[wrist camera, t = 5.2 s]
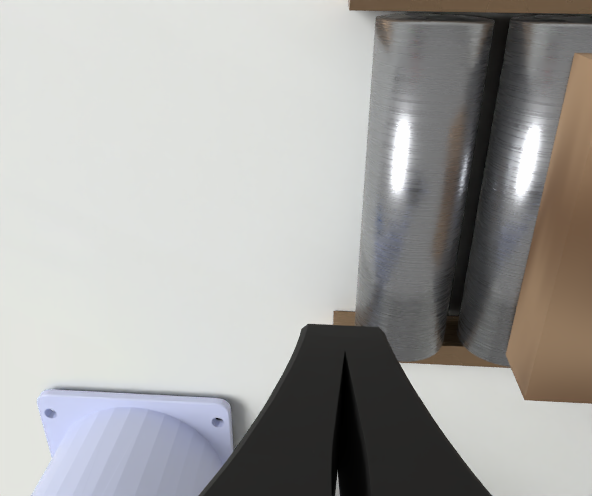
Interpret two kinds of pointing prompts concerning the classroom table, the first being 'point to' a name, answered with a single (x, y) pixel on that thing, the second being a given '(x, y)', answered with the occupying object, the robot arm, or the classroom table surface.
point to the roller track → (456, 169)
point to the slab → (560, 263)
